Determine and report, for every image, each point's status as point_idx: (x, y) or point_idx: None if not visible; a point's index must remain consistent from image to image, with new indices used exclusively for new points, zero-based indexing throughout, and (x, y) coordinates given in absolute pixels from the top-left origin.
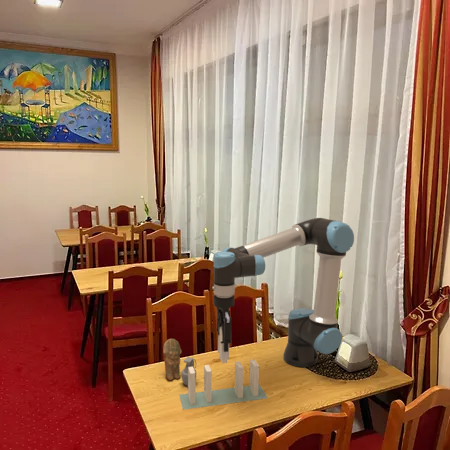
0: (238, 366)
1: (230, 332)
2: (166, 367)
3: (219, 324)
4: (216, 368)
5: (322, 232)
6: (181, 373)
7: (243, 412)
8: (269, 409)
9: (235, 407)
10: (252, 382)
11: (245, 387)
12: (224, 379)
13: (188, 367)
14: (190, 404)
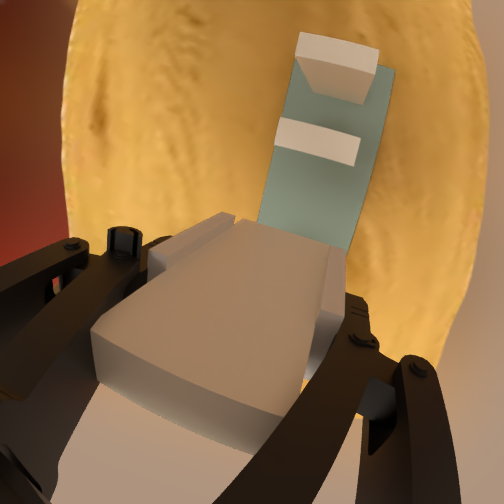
0: (336, 157)
1: (450, 484)
2: None
3: (82, 409)
4: (135, 139)
5: None
6: None
7: (420, 191)
8: (444, 106)
9: (384, 197)
10: (345, 91)
11: (294, 100)
12: (204, 141)
13: None
14: None
